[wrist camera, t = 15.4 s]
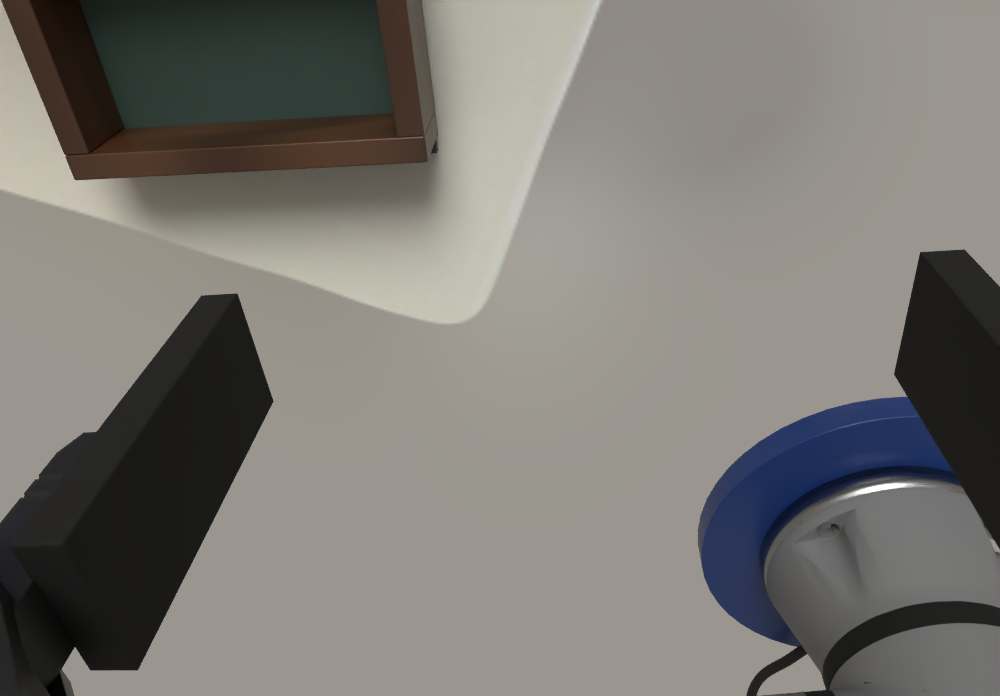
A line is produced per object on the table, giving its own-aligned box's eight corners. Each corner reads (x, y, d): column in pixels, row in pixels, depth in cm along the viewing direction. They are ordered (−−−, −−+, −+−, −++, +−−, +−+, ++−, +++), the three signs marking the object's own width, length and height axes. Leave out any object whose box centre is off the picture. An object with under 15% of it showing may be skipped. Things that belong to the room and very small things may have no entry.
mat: (438, 150, 38) (436, 153, 37) (124, 167, 39) (121, 170, 39) (400, -141, 31) (398, -141, 31) (23, -107, 32) (18, -106, 32)
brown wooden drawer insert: (406, -120, 31) (390, -113, 28) (438, 135, 37) (427, 163, 34) (21, -87, 33) (-32, -76, 30) (110, 153, 38) (74, 181, 36)
